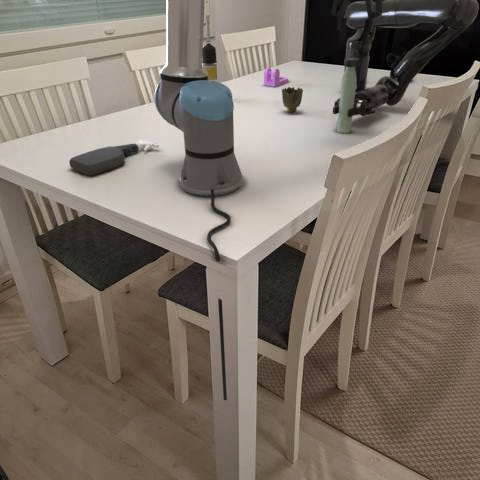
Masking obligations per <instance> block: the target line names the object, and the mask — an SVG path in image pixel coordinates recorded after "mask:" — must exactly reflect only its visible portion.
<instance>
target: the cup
mask: <svg viewBox="0 0 480 480" xmlns="http://www.w3.org/2000/svg"><path fill="white" fill-rule="evenodd" d="M303 92H304V89H303V87H301V88H300V87H297V89H295V87H294V86H292V87H290V86H288V87H284V88H282V89H281V97H282V104H283V106H284V107H285V108H286V109H285V110H286V112H287V113H289V114H290V113H291V114H294V113H296V112H297V110H298V109H297V108H299V107H300V106H301V103H302V98H303V94H304V93H303Z"/></svg>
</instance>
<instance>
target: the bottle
mask: <svg viewBox="0 0 480 480" xmlns="http://www.w3.org/2000/svg"><path fill="white" fill-rule="evenodd" d="M356 78H357V77H356V70H355V67H346V70H345V72H344V71H343V74H342V77H341V84H340V95H339V98H340V103H339V113H338V114H337V125H336V132H337V133H339V134H349V133H351V130H352V123H353V116H352V117H347V115H348V110H349V109H351V108H353V106H354V98H355V89H356V81H357V79H356Z"/></svg>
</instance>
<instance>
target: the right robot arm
mask: <svg viewBox="0 0 480 480" xmlns="http://www.w3.org/2000/svg"><path fill="white" fill-rule="evenodd" d="M375 4H376V2H374V1H373V6H374V12H375ZM479 9H480V6H479V3H478V0H383V4H382V15H381V16H379V17H376V18H375V19H374V24H373V30H372V32H369V37H368V44H366V45H362V41H363V33H364V24H365V19H367V18H368V14H367V8H366V2H365V0H361V1H354V2H352V3H349V5H348V8H347V11H346V13H345V17H344V18H347V23H346V26H347V27H348V28H350V29H353V30H356V32H355V34H354V35H352V36H351V37H349V38H348V39H347V41H346V49H345V58H357V59H358V66H357V67H355V70H356V77H357V78H356V79H357V81H356V89H355V98H354V106H353V108H351V109H349V110H348V115H347V117H352V118H353V117H354V116H361V117H365V116H369V115H372V114H376V113H377V109H378V108H380V107H381V106H383V105H387V106H390V107H393V106H396V105H397V104H399V103H400V102H401V100H402V99H403V98H404V96H405V93H406V92H407V89H408V87H409V86H410V84H411V82H412V81H413V80H414V78H415V77H417V75H418V74H419V73H420V72H421V71H422V70H423V69H424V67H425V66H426V65H427V64H428V63H430V61H431V60H432V59H433V58H434V57H435V56H436V55H437V54H438V53H439V52H441V51H442V50H443V49H444V48H446V47H447V45H449V44H450V43H451V42H452V41H453V40H455V39H456V38H457V37H458V36H459V35H460V34H462V33H463V32H464V31H465V30H466V29H467V28H469V26H470V25H472V24H473V22H474V21H475V19H476V18H477V16H478V13H479ZM423 23H425V24H427V23H428V24H436V25H440V28H439V29H438V30H437V31H436V32H434V33H433V34H432V35H431V36H429V37H428V38H426V39H425V40H423V41H422V42H420V43H419V44H417V45H415V46H414V47H413V48H412V49H410V50H409V51H408V54H407V55H406V56H405V57H404V58H403V57H402V59H401V60H400V63H399V64H398V65H397V67H396V68H395V70H394V74H395V76H396V78H395V79H396V80H397V79H398V81H395V79H392V78H391V77H390V75H389V76H388V75H385V76H382V77H381V78H379V79H378V80H377V82H376V83H375V85H374V86H371V87H367V81H368V72H369V63H370V57H371V48H372V43H373V41H374V39H375V33H376V30H377V29H376V28H378V27H379V28H385V29H386V28H387V29H408V28H409V29H410V28H412V27H415V26H417V25H418V24H423ZM345 70H346V67H345V66H344V69H343V73H344V72H345ZM397 82H398V83H397ZM366 87H367V88H366ZM339 103H340V97H339V98H337V99H336V100H335V101H334V105H333V107H332V115H338V113H339Z"/></svg>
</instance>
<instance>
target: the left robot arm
mask: <svg viewBox="0 0 480 480" xmlns="http://www.w3.org/2000/svg"><path fill="white" fill-rule="evenodd" d="M364 1H365V2H366V8H367V14H368V18H367V19H365V24H364V33H363V41H362V45H366V44H368V37H369V32H372V30H373V24H374V19H375V18H376V17H379V16H381V15H382V4H383V1H384V0H375V3H376V4H375V12H374V6H373V2H374V0H364ZM341 2H342V3H341ZM350 4H351V0H333V3H332V10H331V15H332V16H335V17H336V18H337V26H336V30H337V31H339V38H338V44H340V45H342V44H344V43H345V42H346V34H347V33H346V31H347V24H346V23H347V18H344V17H345V13H346V11H347V8H348V6H349V5H350ZM165 9H166V18H165V19H166V23H165V24H166V25H165V26H166V30H165V31H166V32H165V33H166V38H165V39H166V44H165V45H166V49H165V50H166V51H165V52H166V56H165V57H166V58H165V59H166V60H165V61H166V63H165V65H164V66H163V67H161V69H159V82H158V83H157V85H156V87H155V90H154V93H153V100H154V105H155V108H156V111H157V113H158V115H160V117H162V119H163V120H164V121H166V123H168V124H170V125H171V126H174V127H175V128H176V129H177V130H180V132H182V133H183V143H184V154H185V155H184V158H183V164H182V168H181V171H180V177H179V183H180V184H179V185H180V188H181V189H182V191H184V192H186V193H187V194H190V195H194V196H199V197H210V206H211V208H212V210H213V211H214V212H216V213H217V214H219V215H221V216H224V217H225V218H226V219H227V220H226V221H224V222H222V223H221V224H219V225H217V226H214V227H213V228H211V229H210V230H209V231H208V233H207V235H206V241H207V242H208V244H210V246H211V248H212V250H213V251H214V255H215V261H216V262H217V263H219V262H221V257H220V252H219V249H218V247H217V246H216V243H214V241H213V239H212V238H211V237H212V234H213V233H215V232H217V231H218V230H220V229H223V228H225V227H226V226H228V225H229V224H230V223H231V220H232V219H231V216H230V214H228V213H227V212H225V211H223V210H220V209H218V208H217V207H216V206H215V197H221V196H224V195H229V194H232V193H234V192H235V191H237V190H239V189H240V188H241V187H242V185H243V174H242V171H241V168H240V165H239V163H238V160H237V157H236V154H235V132H234V131H235V130H234V127H235V126H234V109H235V105H234V100H233V98H234V97H233V93H232V91H231V89H230V88H229V87H228V86H227V85H226V84H223V83H222V82H219V81H215V82H212V81H213V80H212V81H208V73H207V72H206V71H205V69H204V68H203V63H202V61H203V58H202V54H203V47H204V25H205V24H204V23H205V0H166V7H165ZM217 306H218V321H219V323H218V324H219V339H220V342H219V343H220V357H221V360H220V361H221V373H222V375H221V377H222V392H223V393H222V394H223V400H224V401H227V399H228V393H227V373H226V354H225V353H226V351H225V333H224V313H223V300H222V299H221V298H219V297H218V298H217Z"/></svg>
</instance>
